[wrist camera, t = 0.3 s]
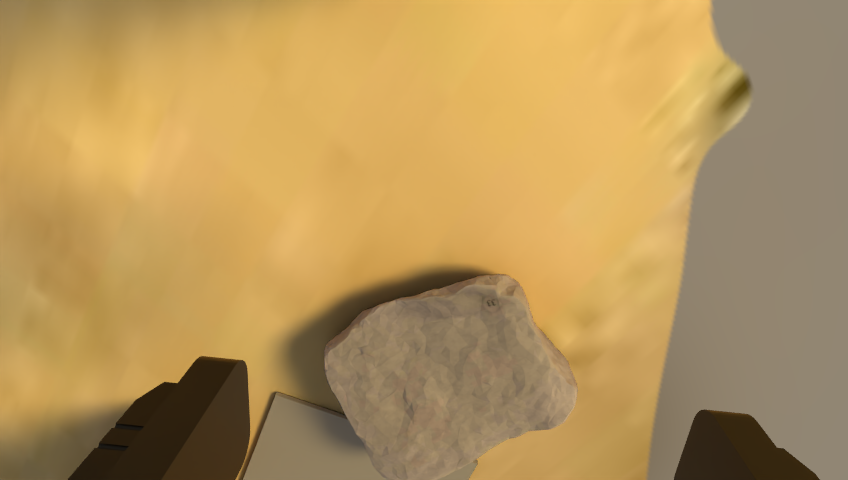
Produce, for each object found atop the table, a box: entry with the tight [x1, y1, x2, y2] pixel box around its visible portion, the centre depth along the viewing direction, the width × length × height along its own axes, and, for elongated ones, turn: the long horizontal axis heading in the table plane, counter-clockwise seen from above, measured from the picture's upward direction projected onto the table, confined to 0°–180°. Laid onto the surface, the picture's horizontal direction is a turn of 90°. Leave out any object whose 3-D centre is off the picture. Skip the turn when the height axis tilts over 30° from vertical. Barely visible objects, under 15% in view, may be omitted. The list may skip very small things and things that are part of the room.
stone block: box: [324, 274, 578, 480], centre depth 29 cm, size 12×5×10 cm
